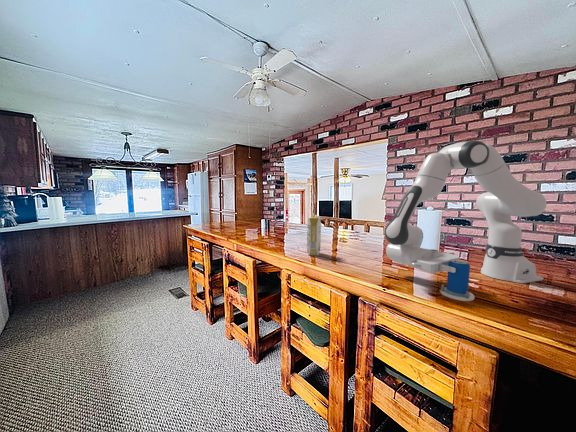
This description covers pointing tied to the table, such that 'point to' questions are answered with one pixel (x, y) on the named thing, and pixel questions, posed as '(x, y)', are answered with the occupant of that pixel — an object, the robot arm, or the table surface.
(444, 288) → the pin cradle
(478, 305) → the table surface
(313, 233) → the juice carton
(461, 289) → the beverage can
